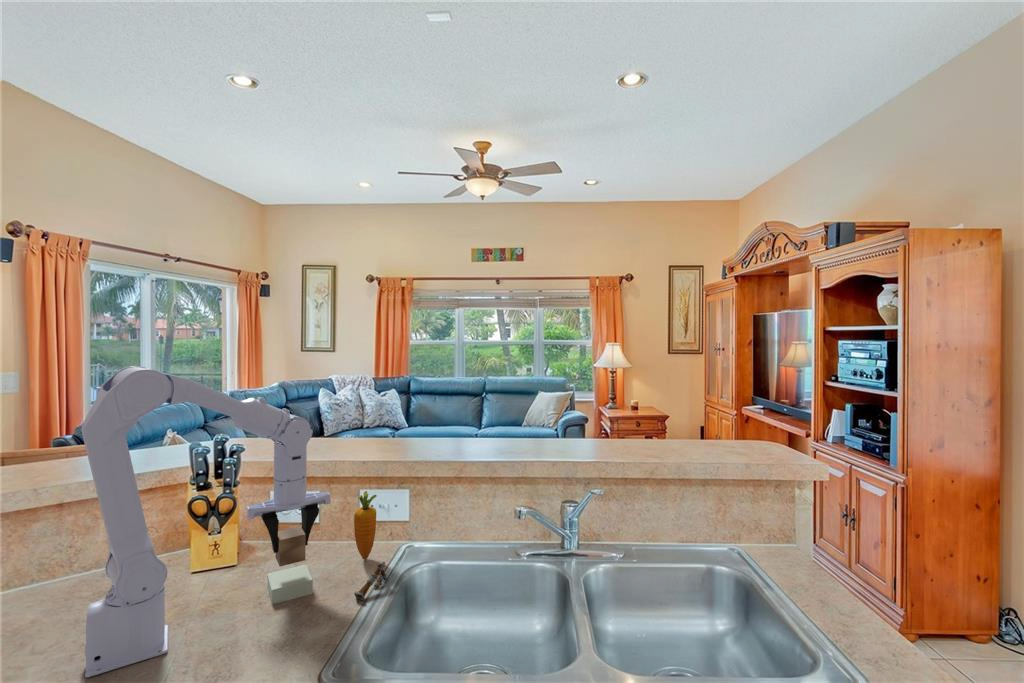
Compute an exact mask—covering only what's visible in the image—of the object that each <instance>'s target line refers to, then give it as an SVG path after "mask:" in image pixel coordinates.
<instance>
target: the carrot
mask: <svg viewBox="0 0 1024 683" xmlns="http://www.w3.org/2000/svg"><path fill="white" fill-rule="evenodd" d="M368 497H369V493H368V491H367V490H366V491H365V490H364V492H363V495H362V494H361V495H359V497H358V498H359V501H360V505H362V506H361V507H358V508H356V510H355V512H354V516H353V524H354V525H353V526H354V528H353V529H354V538H355V543H356V548H357V551H358V552H359V555H360V556H361V558H362V560H365V561H366V560H367V559H368V558H369V556H370V554H371V553H372V549H373V546H374V542H375V537H376V528H377V527H376V526H377V509H376V508H375V507H373V506H370V504H371V502H372V501H373V500H374V499H375V498H376V497H377V494H372V496H371V497H370V498H369V499H368Z"/></svg>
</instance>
